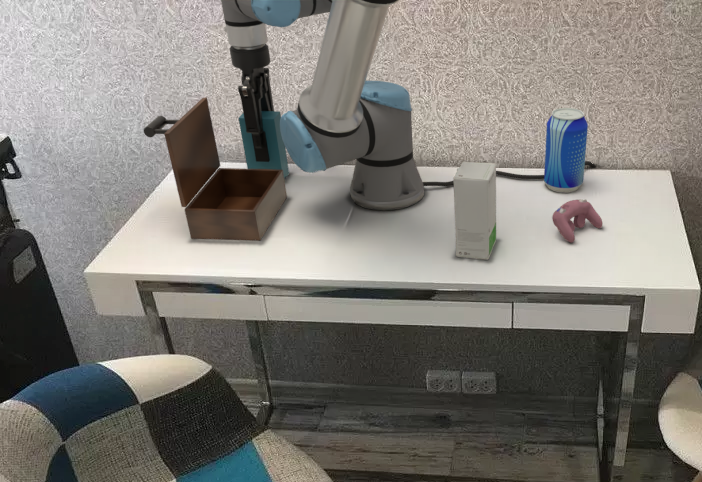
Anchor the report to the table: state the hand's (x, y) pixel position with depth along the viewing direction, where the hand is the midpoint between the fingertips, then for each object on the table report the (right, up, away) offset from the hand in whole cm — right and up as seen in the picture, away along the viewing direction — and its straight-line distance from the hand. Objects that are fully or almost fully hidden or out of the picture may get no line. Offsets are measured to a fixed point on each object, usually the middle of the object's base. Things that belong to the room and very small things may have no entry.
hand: (266, 155), depth 170 cm
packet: (0, -4, +3) cm, 5 cm away
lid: (-7, -4, -21) cm, 23 cm away
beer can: (+64, -7, 0) cm, 64 cm away
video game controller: (+65, -19, -17) cm, 70 cm away
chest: (-1, -16, -14) cm, 21 cm away
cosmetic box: (+45, -23, -23) cm, 56 cm away
